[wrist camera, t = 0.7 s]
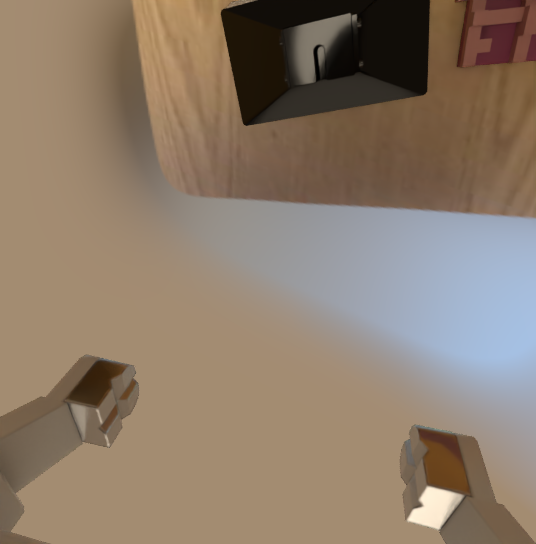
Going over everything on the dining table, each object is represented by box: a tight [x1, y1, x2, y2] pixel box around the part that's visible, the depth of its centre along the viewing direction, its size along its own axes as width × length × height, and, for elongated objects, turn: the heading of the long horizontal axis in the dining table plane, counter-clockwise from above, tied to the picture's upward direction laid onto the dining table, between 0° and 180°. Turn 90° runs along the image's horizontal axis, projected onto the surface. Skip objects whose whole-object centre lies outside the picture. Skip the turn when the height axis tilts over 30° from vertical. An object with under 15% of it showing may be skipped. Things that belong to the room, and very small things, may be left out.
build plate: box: [221, 0, 430, 126], centre depth 21 cm, size 12×7×5 cm, turn 101°
